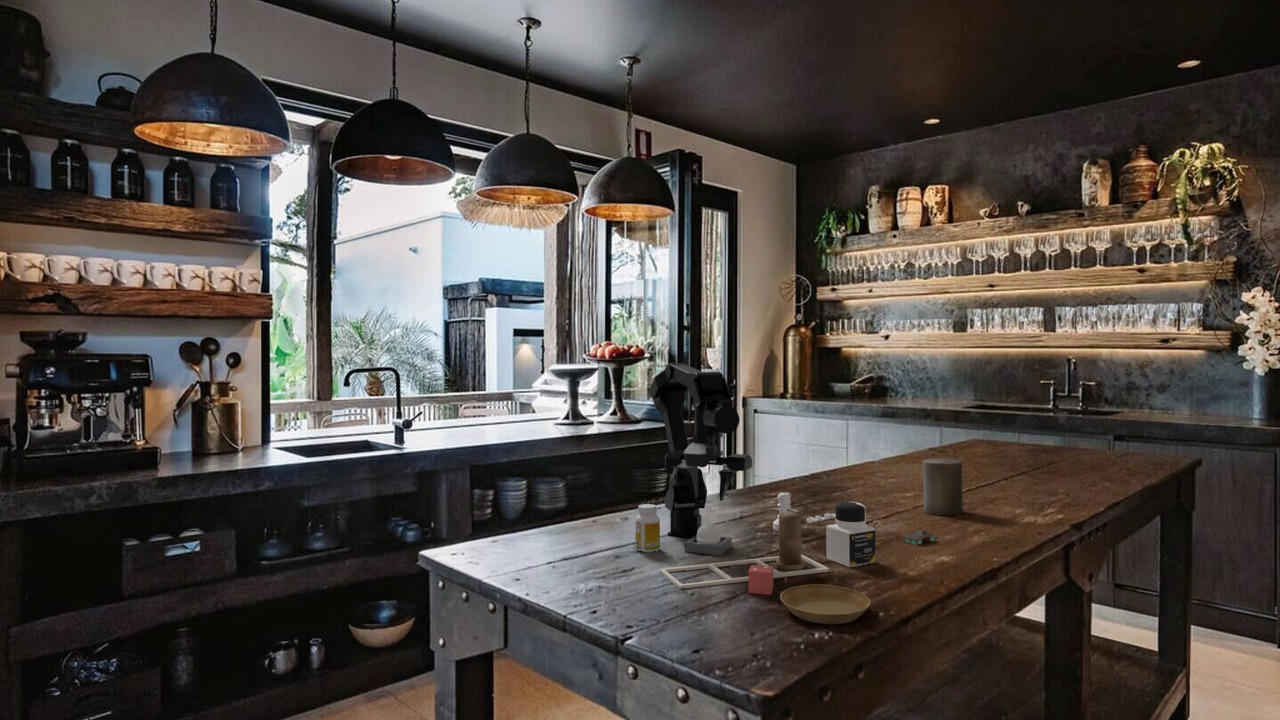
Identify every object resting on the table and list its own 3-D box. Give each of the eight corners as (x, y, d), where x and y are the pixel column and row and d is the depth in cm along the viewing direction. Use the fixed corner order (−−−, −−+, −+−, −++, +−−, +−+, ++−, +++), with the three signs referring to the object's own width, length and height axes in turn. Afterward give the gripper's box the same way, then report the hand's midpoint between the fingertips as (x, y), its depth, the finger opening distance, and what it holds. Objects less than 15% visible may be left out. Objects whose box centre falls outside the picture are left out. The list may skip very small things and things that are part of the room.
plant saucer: (815, 636, 116) (815, 619, 116) (763, 606, 130) (763, 591, 130) (890, 621, 122) (890, 605, 122) (832, 594, 136) (832, 579, 136)
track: (679, 589, 138) (679, 585, 138) (659, 572, 149) (659, 569, 149) (829, 571, 148) (829, 568, 148) (800, 556, 159) (800, 553, 159)
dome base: (684, 551, 164) (684, 542, 164) (698, 542, 171) (698, 533, 171) (719, 555, 160) (719, 546, 160) (731, 546, 167) (731, 537, 167)
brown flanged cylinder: (772, 568, 150) (772, 516, 150) (780, 561, 155) (780, 510, 155) (800, 572, 148) (800, 519, 148) (807, 564, 153) (807, 513, 153)
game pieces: (766, 513, 201) (766, 492, 201) (800, 507, 209) (800, 487, 209) (912, 550, 165) (912, 524, 164) (946, 541, 172) (946, 516, 172)
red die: (748, 592, 136) (748, 570, 136) (751, 586, 140) (751, 564, 140) (770, 594, 135) (770, 572, 135) (773, 587, 138) (773, 565, 138)
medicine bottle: (849, 567, 151) (849, 508, 150) (825, 559, 157) (825, 502, 157) (876, 562, 154) (876, 504, 154) (851, 554, 160) (851, 498, 160)
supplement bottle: (663, 547, 167) (663, 504, 166) (654, 554, 162) (653, 509, 162) (641, 545, 169) (641, 502, 169) (631, 551, 164) (631, 507, 164)
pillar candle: (968, 516, 194) (968, 458, 194) (931, 516, 194) (930, 458, 194) (953, 508, 204) (953, 453, 204) (917, 508, 204) (917, 453, 204)
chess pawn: (793, 532, 179) (793, 495, 179) (772, 531, 180) (772, 494, 180) (793, 527, 184) (793, 491, 184) (773, 526, 185) (773, 490, 185)
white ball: (693, 548, 164) (692, 525, 164) (702, 542, 169) (701, 520, 169) (715, 551, 162) (715, 527, 162) (723, 545, 166) (723, 522, 166)
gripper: (653, 430, 162) (654, 502, 162) (735, 434, 153) (736, 510, 154) (674, 425, 172) (675, 493, 172) (752, 429, 163) (753, 500, 164)
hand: (708, 499), depth 165 cm, fingers open, 6 cm apart
